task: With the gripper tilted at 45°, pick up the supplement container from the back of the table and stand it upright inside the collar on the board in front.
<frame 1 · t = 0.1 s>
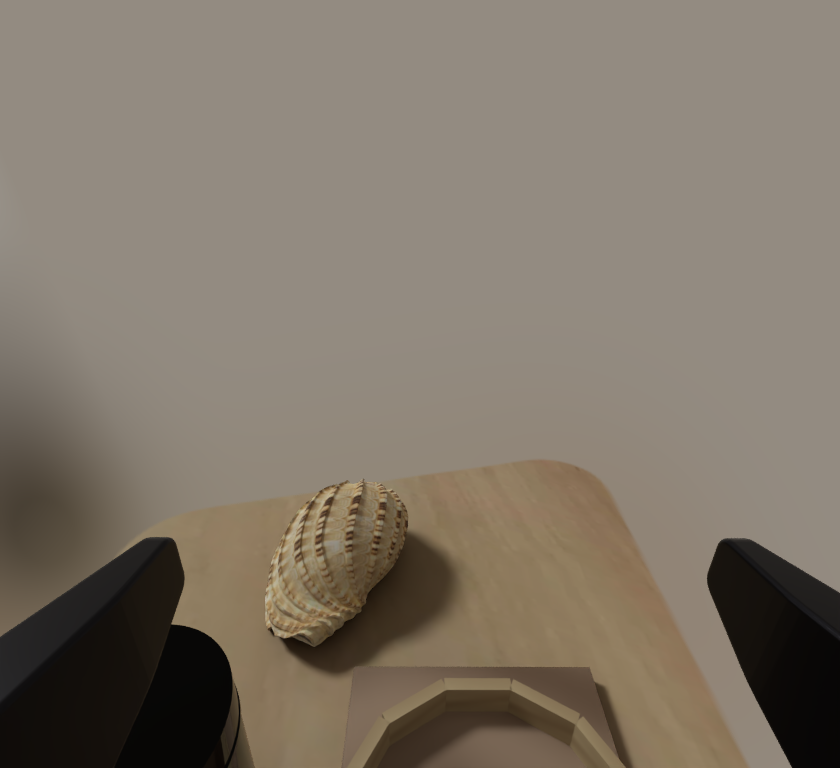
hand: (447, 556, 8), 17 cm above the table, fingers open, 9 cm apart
seashell: (341, 583, 29), on the table
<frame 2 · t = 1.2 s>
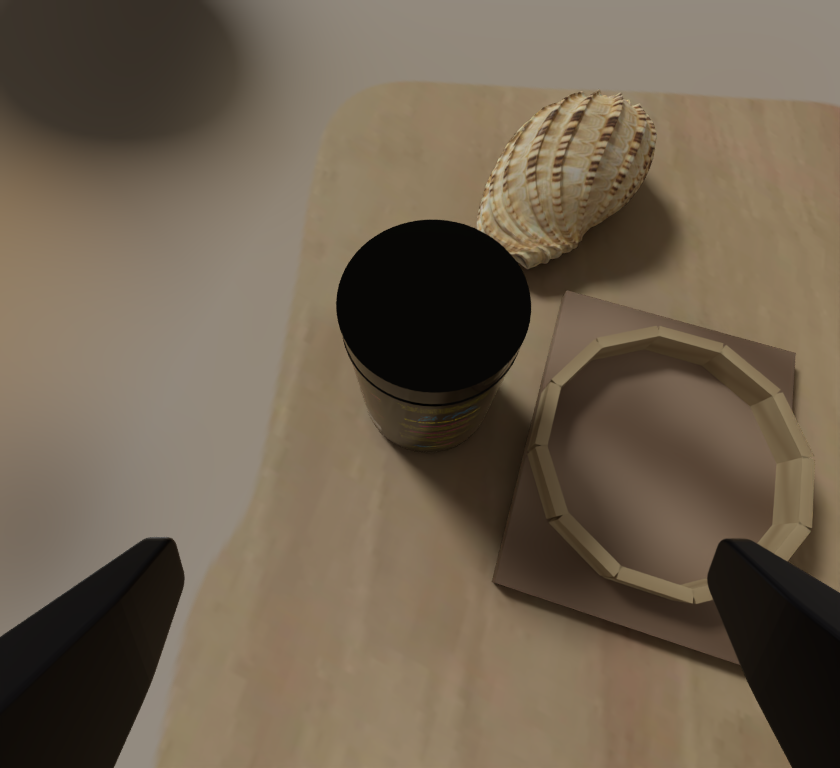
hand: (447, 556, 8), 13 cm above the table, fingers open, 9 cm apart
seashell: (552, 211, 27), on the table
supplement container: (426, 396, 23), on the table
collar board: (649, 461, 22), on the table
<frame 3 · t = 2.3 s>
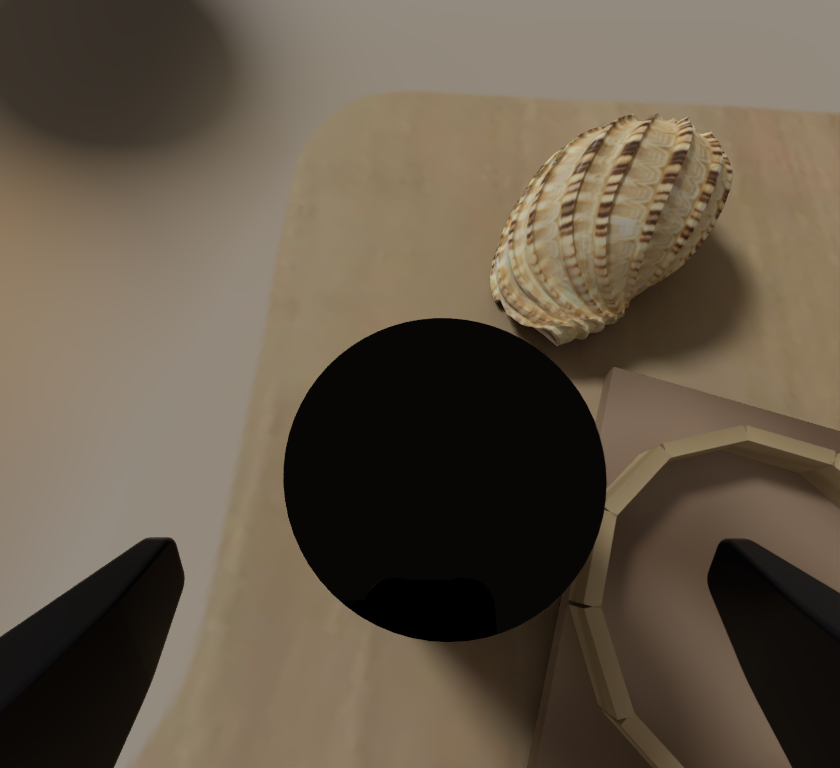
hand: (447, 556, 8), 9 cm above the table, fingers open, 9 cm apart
seashell: (586, 263, 21), on the table
supplement container: (430, 510, 17), on the table
collar board: (732, 608, 16), on the table
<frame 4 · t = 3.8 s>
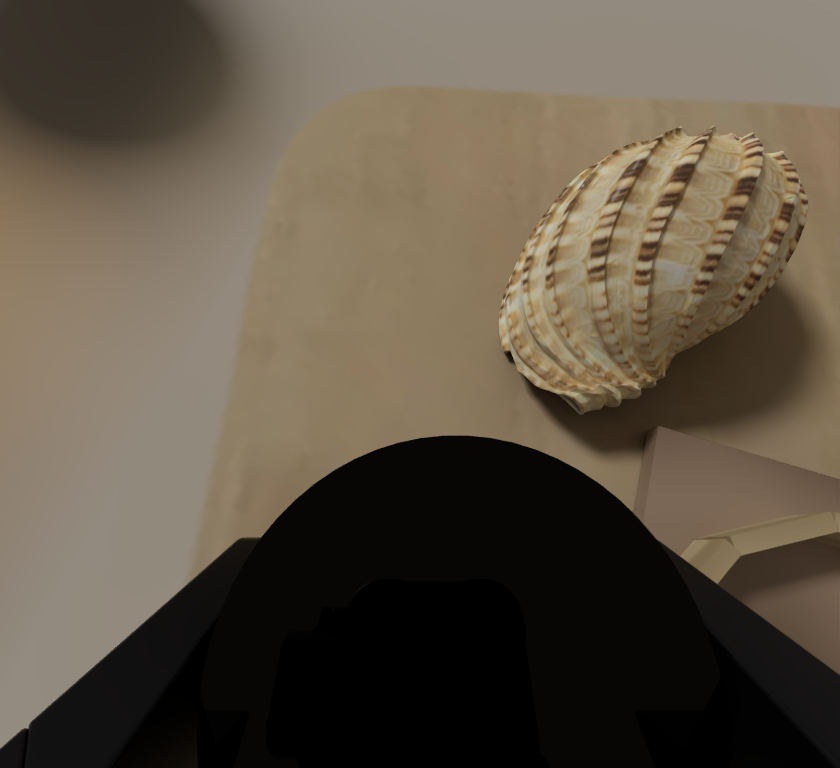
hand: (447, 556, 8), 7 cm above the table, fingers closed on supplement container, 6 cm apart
seashell: (615, 303, 18), on the table
supplement container: (433, 608, 14), on the table, touching gripper
collar board: (813, 740, 13), on the table
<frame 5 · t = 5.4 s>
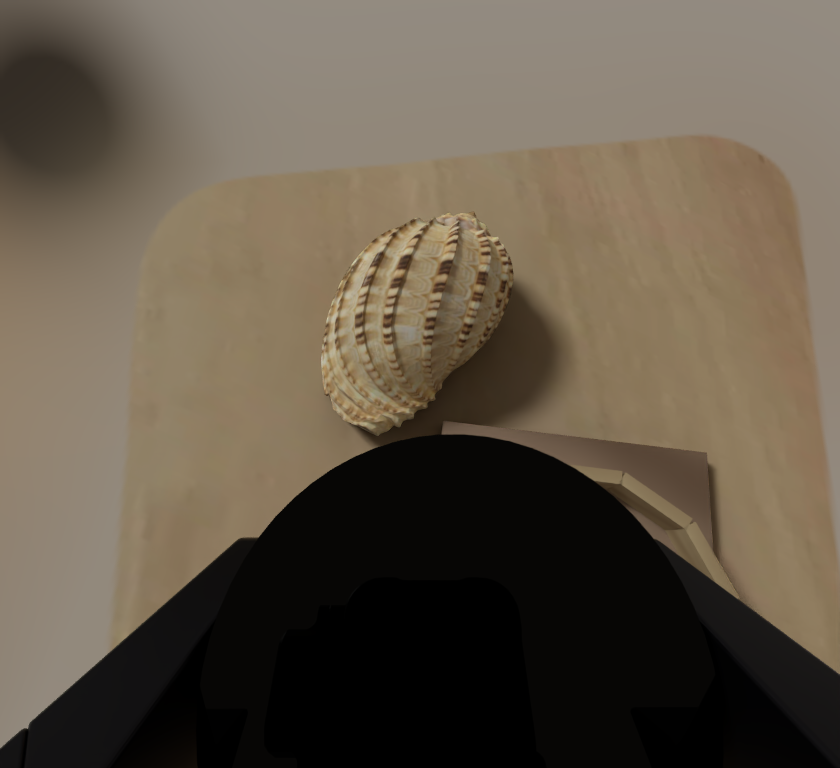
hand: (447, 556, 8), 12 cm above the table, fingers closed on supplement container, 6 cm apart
seashell: (413, 341, 23), on the table
supplement container: (431, 606, 14), point 5 cm above the table, touching gripper
collar board: (563, 616, 19), on the table
when the fingers open (9 cm above the table, at t = 7.1 s): supplement container drops 1 cm, resting on collar board.
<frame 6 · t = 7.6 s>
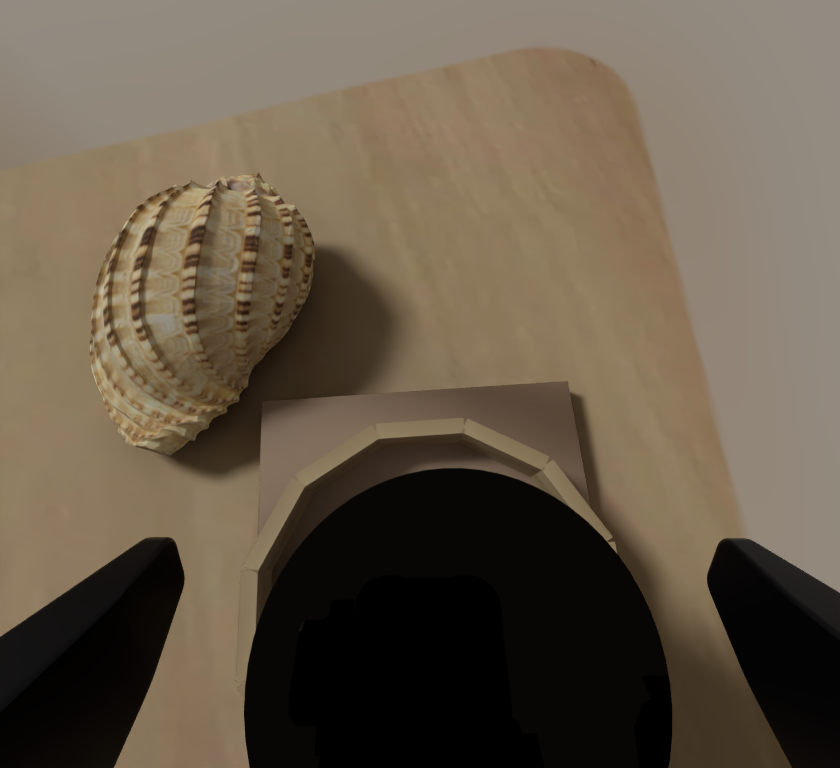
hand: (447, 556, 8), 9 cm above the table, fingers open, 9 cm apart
seashell: (224, 337, 19), on the table
supplement container: (432, 610, 15), point 1 cm above the table, touching collar board
collar board: (431, 601, 16), on the table
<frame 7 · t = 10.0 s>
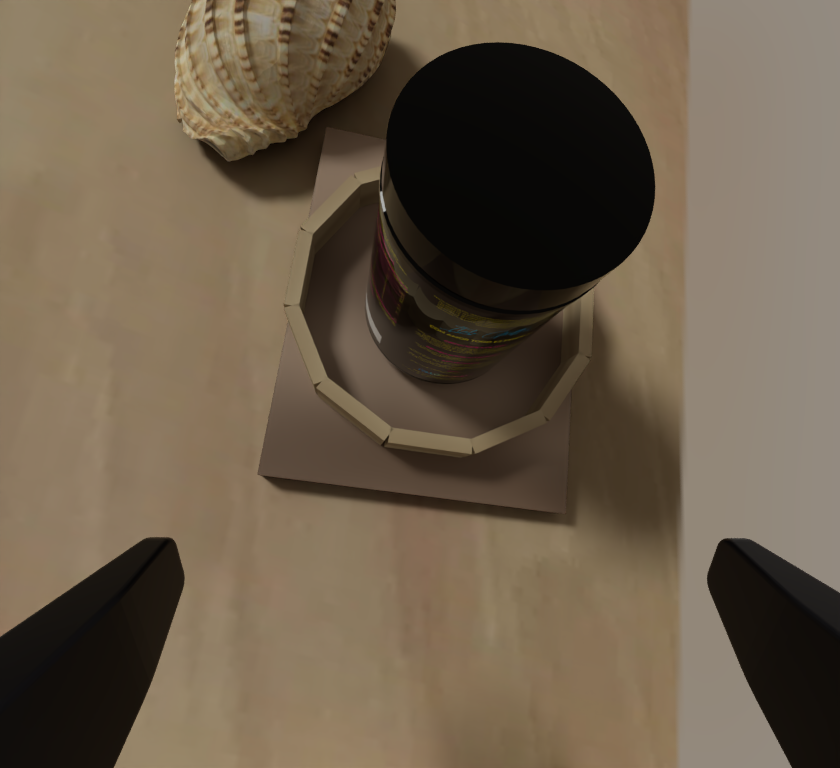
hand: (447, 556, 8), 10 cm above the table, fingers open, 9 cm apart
seashell: (288, 92, 21), on the table
supplement container: (438, 316, 19), point 1 cm above the table, touching collar board
collar board: (435, 317, 20), on the table
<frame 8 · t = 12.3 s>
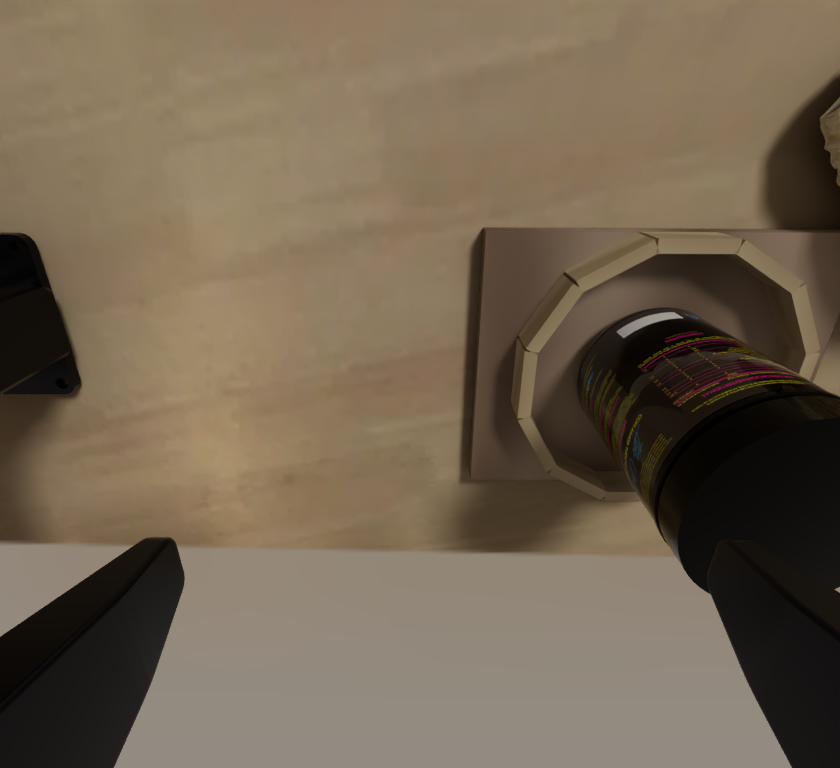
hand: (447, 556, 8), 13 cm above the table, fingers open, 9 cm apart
supplement container: (640, 368, 20), point 1 cm above the table, touching collar board
collar board: (639, 363, 21), on the table
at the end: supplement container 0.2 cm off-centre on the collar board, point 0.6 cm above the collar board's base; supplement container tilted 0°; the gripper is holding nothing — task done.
